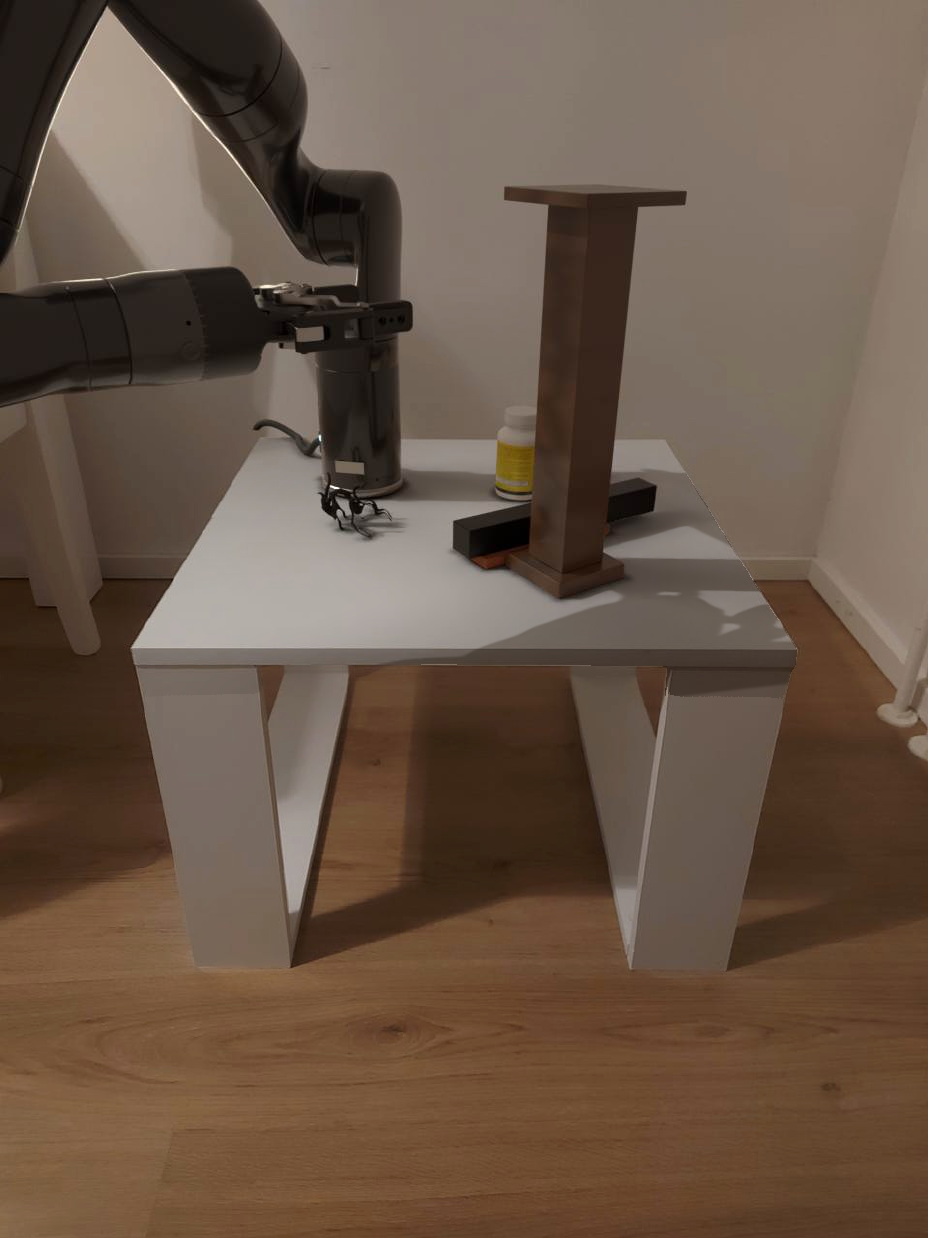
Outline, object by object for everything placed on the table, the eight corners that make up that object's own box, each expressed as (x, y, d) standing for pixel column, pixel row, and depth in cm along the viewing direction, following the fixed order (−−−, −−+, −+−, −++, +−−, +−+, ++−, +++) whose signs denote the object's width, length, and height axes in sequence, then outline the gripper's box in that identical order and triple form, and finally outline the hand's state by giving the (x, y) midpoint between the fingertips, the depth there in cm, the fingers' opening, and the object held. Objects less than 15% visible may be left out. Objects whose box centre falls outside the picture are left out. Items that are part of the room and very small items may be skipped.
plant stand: (491, 565, 84) (503, 185, 68) (570, 542, 89) (599, 184, 73) (557, 606, 77) (588, 193, 61) (638, 579, 82) (687, 190, 66)
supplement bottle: (538, 503, 99) (543, 418, 94) (491, 499, 99) (494, 415, 95) (544, 487, 103) (549, 405, 98) (499, 483, 104) (502, 402, 99)
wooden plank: (457, 550, 87) (457, 541, 87) (578, 518, 95) (578, 509, 95) (486, 569, 83) (486, 560, 83) (609, 533, 91) (610, 524, 91)
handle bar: (452, 520, 84) (469, 530, 82) (638, 476, 95) (657, 485, 93) (452, 548, 85) (469, 559, 83) (635, 502, 97) (654, 511, 94)
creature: (392, 519, 97) (321, 503, 96) (402, 475, 94) (329, 458, 93) (385, 549, 90) (309, 532, 89) (395, 502, 87) (317, 483, 86)
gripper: (209, 284, 54) (430, 266, 62) (141, 257, 64) (338, 245, 72) (224, 404, 58) (431, 372, 66) (157, 360, 68) (343, 338, 76)
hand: (382, 306), depth 69 cm, fingers open, 8 cm apart
